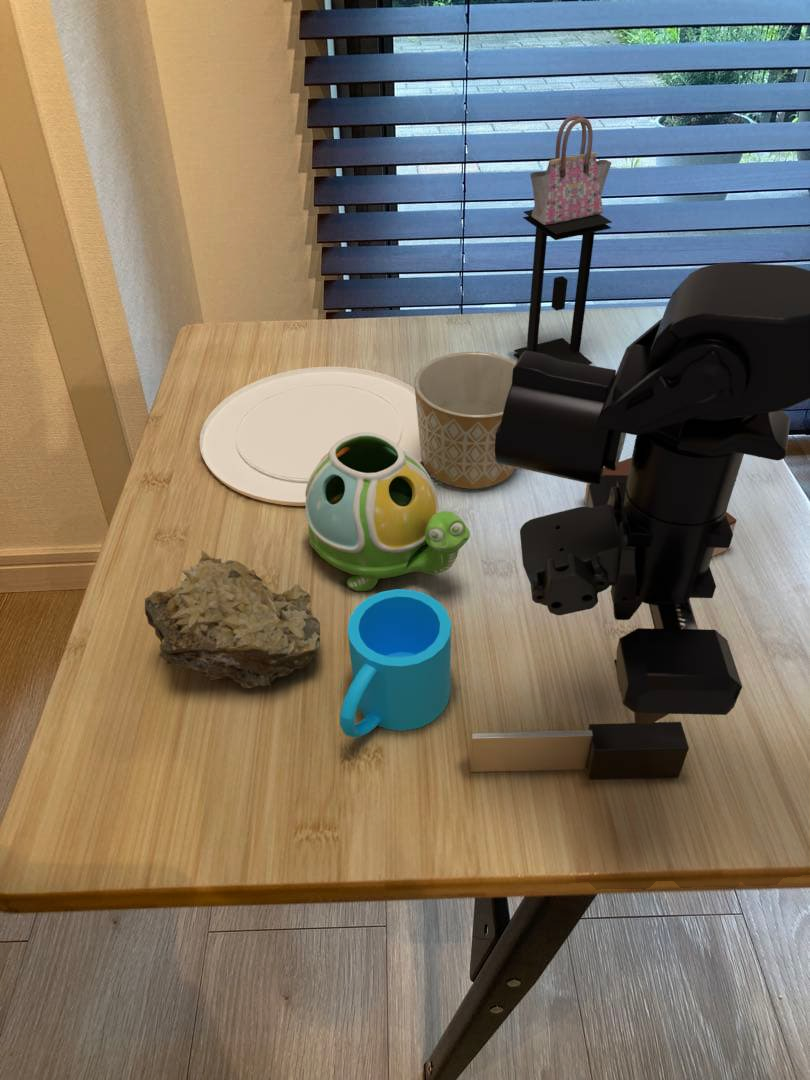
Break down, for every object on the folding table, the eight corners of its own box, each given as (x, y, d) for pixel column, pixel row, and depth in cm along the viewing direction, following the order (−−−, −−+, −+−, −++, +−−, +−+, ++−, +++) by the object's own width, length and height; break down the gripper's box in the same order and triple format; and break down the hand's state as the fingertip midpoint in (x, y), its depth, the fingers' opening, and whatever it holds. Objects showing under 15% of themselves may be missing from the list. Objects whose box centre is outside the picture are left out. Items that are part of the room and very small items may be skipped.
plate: (430, 367, 111) (430, 362, 111) (444, 502, 90) (444, 497, 90) (218, 375, 111) (217, 370, 110) (182, 512, 90) (181, 507, 90)
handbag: (532, 383, 108) (554, 133, 88) (504, 357, 113) (518, 115, 93) (602, 365, 111) (638, 118, 91) (572, 340, 116) (600, 101, 96)
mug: (389, 640, 76) (385, 575, 71) (468, 678, 73) (470, 613, 67) (306, 735, 69) (295, 671, 63) (389, 782, 65) (385, 719, 60)
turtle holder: (414, 639, 76) (412, 541, 68) (284, 548, 86) (268, 453, 78) (500, 568, 83) (507, 471, 75) (370, 491, 92) (364, 398, 84)
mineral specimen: (345, 602, 80) (337, 523, 73) (311, 713, 70) (297, 633, 64) (200, 586, 82) (179, 508, 75) (147, 692, 72) (118, 612, 66)
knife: (671, 751, 67) (682, 717, 64) (679, 778, 65) (690, 744, 62) (469, 756, 67) (470, 722, 64) (471, 783, 65) (472, 749, 62)
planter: (521, 430, 100) (529, 352, 93) (530, 498, 91) (540, 417, 84) (414, 428, 100) (415, 350, 93) (412, 496, 91) (413, 415, 84)
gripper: (524, 402, 56) (508, 571, 66) (549, 610, 42) (524, 782, 52) (695, 403, 55) (652, 574, 66) (778, 614, 41) (706, 787, 52)
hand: (631, 667), depth 59 cm, fingers open, 9 cm apart
